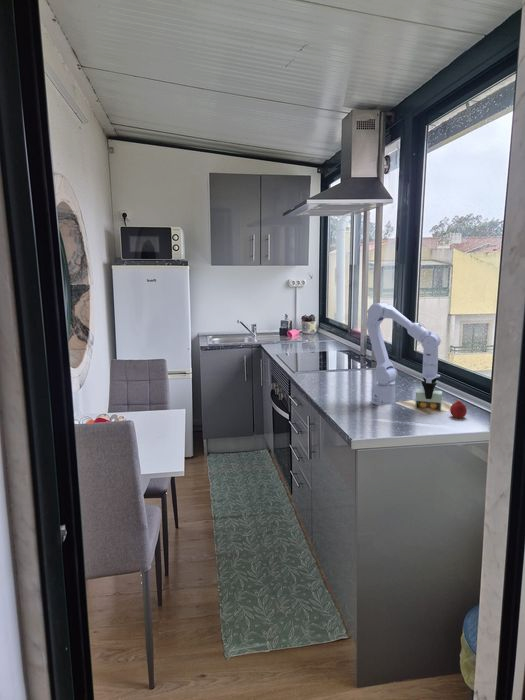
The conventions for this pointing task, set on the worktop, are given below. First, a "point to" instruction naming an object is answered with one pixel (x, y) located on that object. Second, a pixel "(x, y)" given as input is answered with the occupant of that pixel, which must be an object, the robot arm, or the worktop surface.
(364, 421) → the worktop surface
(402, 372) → the worktop surface
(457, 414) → the red rounded piece
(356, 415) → the worktop surface
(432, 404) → the marble
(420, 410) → the birch board
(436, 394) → the sage container
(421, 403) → the marble
